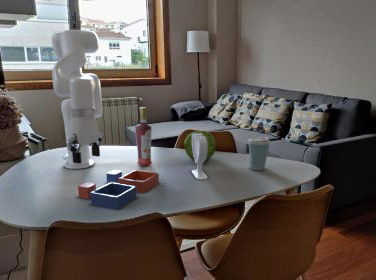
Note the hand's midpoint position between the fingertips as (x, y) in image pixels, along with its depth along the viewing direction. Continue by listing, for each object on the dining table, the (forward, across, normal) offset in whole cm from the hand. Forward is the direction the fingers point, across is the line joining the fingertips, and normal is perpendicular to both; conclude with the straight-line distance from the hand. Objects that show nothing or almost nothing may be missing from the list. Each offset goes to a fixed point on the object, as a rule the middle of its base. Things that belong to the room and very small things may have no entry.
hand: (87, 159), depth 130 cm
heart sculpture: (+14, -39, +27) cm, 49 cm away
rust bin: (+14, -16, +11) cm, 24 cm away
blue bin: (+14, 0, +11) cm, 18 cm away
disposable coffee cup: (+14, -58, +50) cm, 77 cm away
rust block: (+14, 0, -1) cm, 14 cm away
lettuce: (+14, -62, +18) cm, 66 cm away
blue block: (+14, -16, -1) cm, 21 cm away
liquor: (+14, -40, -2) cm, 42 cm away
